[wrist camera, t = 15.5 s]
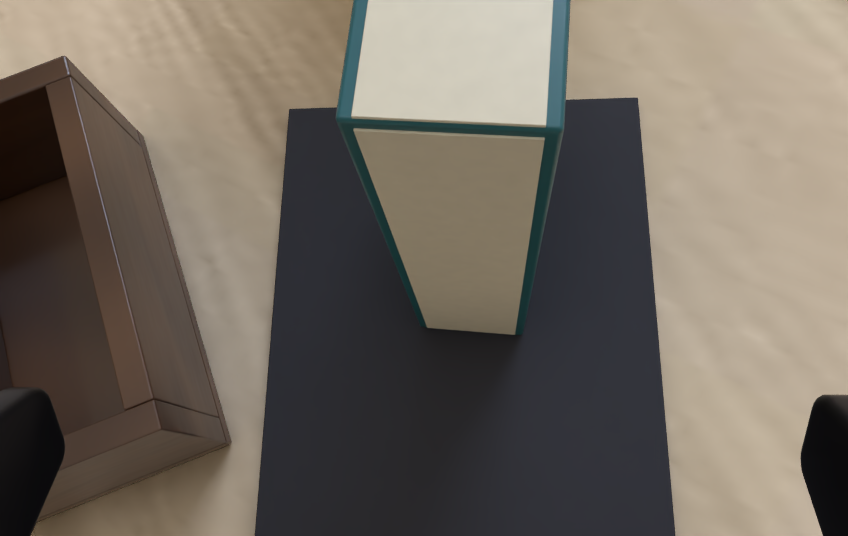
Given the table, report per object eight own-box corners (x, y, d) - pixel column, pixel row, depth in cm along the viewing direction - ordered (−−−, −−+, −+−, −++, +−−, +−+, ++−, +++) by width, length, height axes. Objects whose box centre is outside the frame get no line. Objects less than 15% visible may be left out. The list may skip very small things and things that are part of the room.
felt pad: (694, 790, 18) (698, 795, 18) (239, 767, 19) (235, 771, 19) (636, 101, 24) (637, 97, 24) (291, 113, 25) (288, 108, 25)
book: (523, 337, 22) (566, 132, 10) (419, 328, 22) (330, 121, 10) (536, 130, 24) (584, -256, 12) (440, 126, 24) (389, -253, 12)
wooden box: (232, 443, 22) (161, 429, 17) (23, 527, 22) (-106, 536, 17) (143, 135, 26) (64, 53, 21) (-37, 204, 26) (-157, 138, 21)
